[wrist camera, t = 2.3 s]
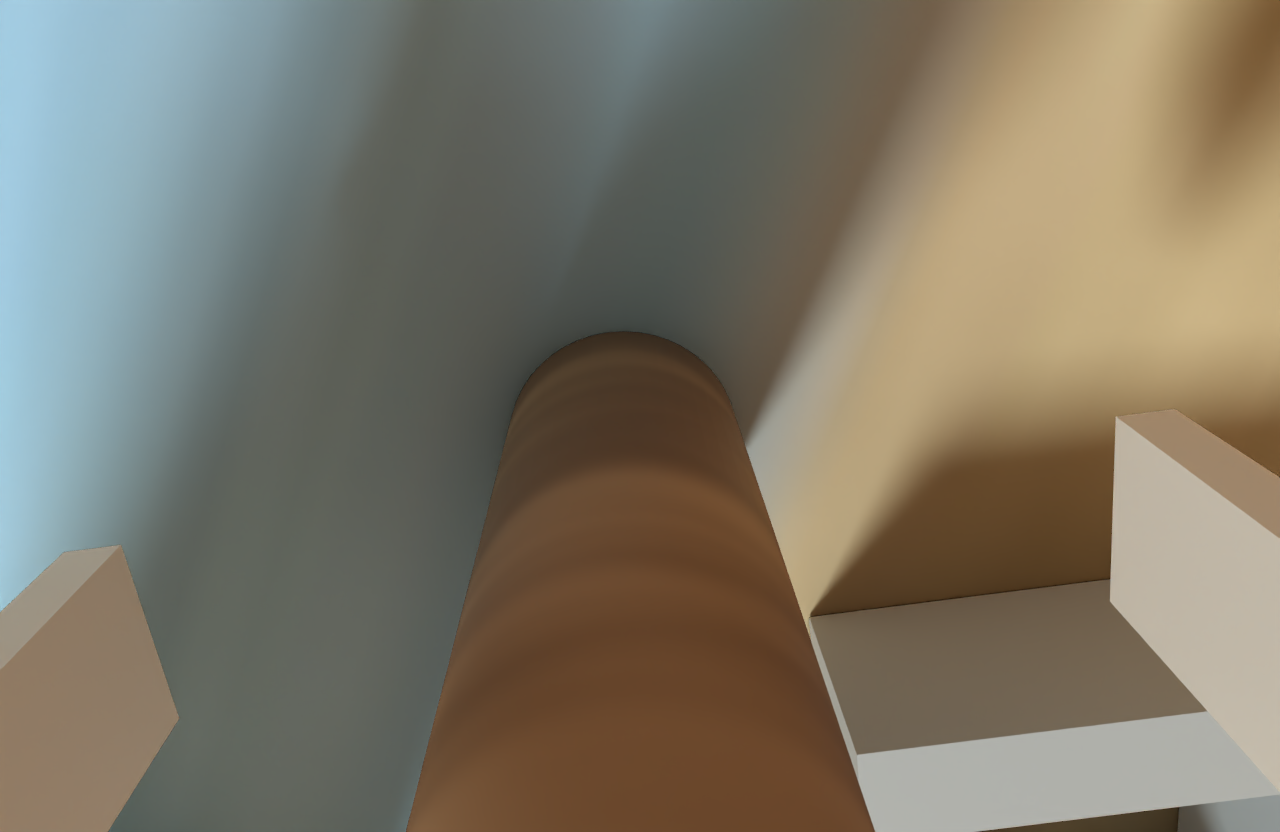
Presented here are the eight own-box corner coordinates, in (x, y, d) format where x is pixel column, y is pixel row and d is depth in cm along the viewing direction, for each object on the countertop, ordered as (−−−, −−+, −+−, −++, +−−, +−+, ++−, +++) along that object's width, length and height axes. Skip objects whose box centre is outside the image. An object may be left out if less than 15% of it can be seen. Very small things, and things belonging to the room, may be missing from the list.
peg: (490, 347, 18) (282, 899, 6) (725, 317, 18) (936, 816, 6) (529, 556, 19) (415, 1314, 8) (747, 528, 19) (952, 1253, 8)
